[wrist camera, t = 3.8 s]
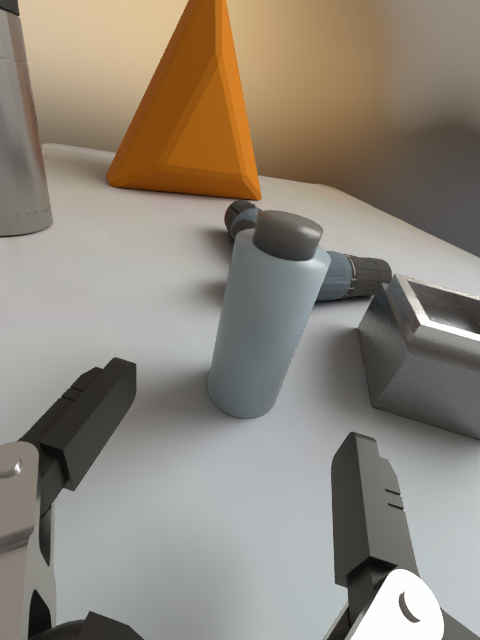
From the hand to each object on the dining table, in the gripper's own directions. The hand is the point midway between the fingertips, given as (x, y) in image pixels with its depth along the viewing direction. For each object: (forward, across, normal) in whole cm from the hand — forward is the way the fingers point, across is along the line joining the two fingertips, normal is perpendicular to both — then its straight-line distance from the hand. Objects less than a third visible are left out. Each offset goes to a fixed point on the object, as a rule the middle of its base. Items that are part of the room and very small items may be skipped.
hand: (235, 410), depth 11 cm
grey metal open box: (+14, -14, +6) cm, 21 cm away
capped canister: (+7, 0, +6) cm, 9 cm away
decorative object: (+53, +21, +7) cm, 57 cm away
